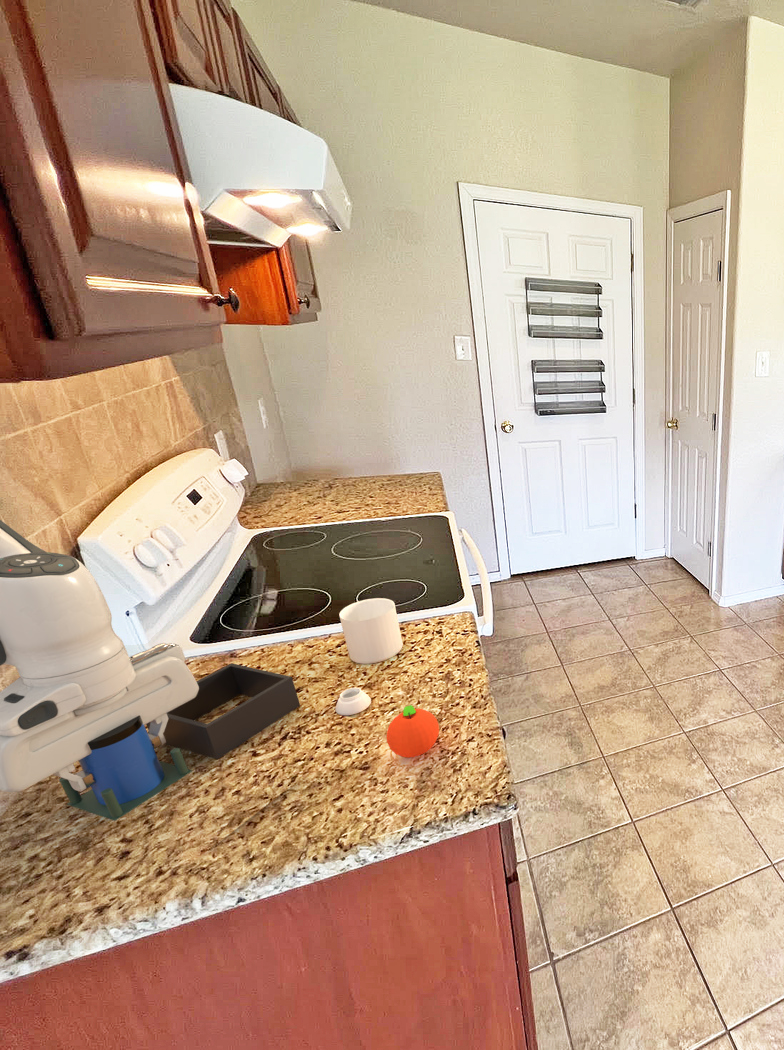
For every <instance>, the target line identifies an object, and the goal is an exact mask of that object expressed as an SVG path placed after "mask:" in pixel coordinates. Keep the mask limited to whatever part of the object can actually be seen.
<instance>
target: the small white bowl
mask: <svg viewBox="0 0 784 1050" xmlns="http://www.w3.org/2000/svg"><path fill="white" fill-rule="evenodd" d="M371 704H372V698H371V696H369V695H368V694H367V693H366V692H365V691H364V690H363V689H361V688H359V687H350V688H348V689H344V690H343V691H341V693H340V694H339V698H338V699H337V702H336V705H335V708H334V710H335V712H336V714H337V715H339V716H351V715H357V714H358V713H362V712H363V711H365V710H366V709H367V708H369V707H370V705H371Z"/></svg>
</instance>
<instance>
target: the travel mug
mask: <svg viewBox="0 0 784 1050" xmlns="http://www.w3.org/2000/svg"><path fill="white" fill-rule="evenodd" d="M146 728H147V727H146V726H145V725H143V721H142V719H141V717H140V715H139V716H137V717H135V718H133V719H131V720H130V721H128V722H126V723H124V724H122V725H120V726H118V727H116V728H114V729H112V730H110V731H109V732H107V733H105V734H103V735H101V736H99V737H97V738H95V739H93V740H91V741H89V742H88V745H89V747H90V749H91V751H92V753H91V754H90V755H88V756H86V757H84V758H82V759H80V760H79V761H78V763H79V765H80V768H81V770H83V771H85V772H86V773H87V772H88V773H92V775H93V777H94V778H93V780H95V781H96V783H95V784H93V785H92V786H90V788H91V789H92V790H93V792H94V794H95V796H96V798H97V800H98V802H99V803H100V804H102V805H106V804H105V802H104V799H103V797H102V795H101V792H102V791H103V790H105V789H108V788H111V789H112V790H113V792H114V794H115V796H116V799H117V801H118V803H119V804H122V803H126V802H129V801H132V800H134V799H137V798H139V797H141V796H143V795H145V794H146V793H148V792H150V791H151V790H153V789H154V788H155V787H156V786H158V785H159V784H160V783H161V781H162V780H163V778H164V771H163V769H162V767H161V764H160V762H159V761H160V760H159V756H158V755H157V753H156V751H155V750H156V749H154V748H153V745H152V743H151V740H150V738H149V736H148V731H147V729H146Z"/></svg>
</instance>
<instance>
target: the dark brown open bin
mask: <svg viewBox="0 0 784 1050" xmlns="http://www.w3.org/2000/svg"><path fill="white" fill-rule="evenodd" d="M196 682H197V684H198V686H199V690H198V693H197V695H196V697H195V698H193V699H192V700H190V701H188V702H186V703H184V704H182V705H181V706H179V707H177V708H175V709H173V710H171V711H169V712H168V713H167V716H168V718H169V719H168V722H167V725H166V728H165V730H164V733H163V735H164V737H165V740H166V743H164V744H163V746H164V745H165V746H168V747H172V748H180V750H181V751H185V752H189V753H192V754H197V755H200V756H204V757H207V758H210V759H215V760H220V759H221V758H222V757H224V756H226V755H227V754H229V753H230V752H232V751H233V750H234V749H236V748H238V747H239V746H241V745H242V744H244V743H246V742H247V741H248V740H250V739H251V738H253V737H255V736H256V735H257V734H259V733H261V732H262V731H264V730H265V729H267V728H268V727H270V726H271V725H273V724H274V723H276V722H278V721H279V720H280V719H282V718H284V717H285V716H287V715H288V714H290V713H292V712H293V711H295V710H297V709H298V708H300V706H301V704H300V701H299V696H298V694H297V690H296V689H297V688H296V687H295V683H294V680H293V677H292V676H290V675H285V674H282V673H276V672H273V671H268V670H263V669H258V668H255V667H249V666H245V665H241V664H237V663H233V662H232V663H229V664H226V665H225V666H223V667H221V668H219V669H218V670H215V671H214V672H212V673H209V674H208V675H206V676H204V677H202V678H199V679H197V680H196ZM239 695H241V696H245V697H249V699H247V700H245V701H244V702H242V703H240V704H239V705H237V706H235V707H234V708H232V709H230V710H229V711H227V712H225V713H224V714H222V715H220V716H218V717H216V718H214V719H213V720H211V721H210V722H208V723H205V722H201V721H197V720H198V719H199V718H202V717H203V716H205V715H206V714H208V713H210V712H212V711H213V710H215V709H217V708H219V707H220V706H222V705H224V704H226V703H228V702H229V701H231V700H232V699H235V698H236V697H238V696H239ZM150 723H151V722H149V723H147V724H145V725H146V728H147V730H148V731H149V727H150Z"/></svg>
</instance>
